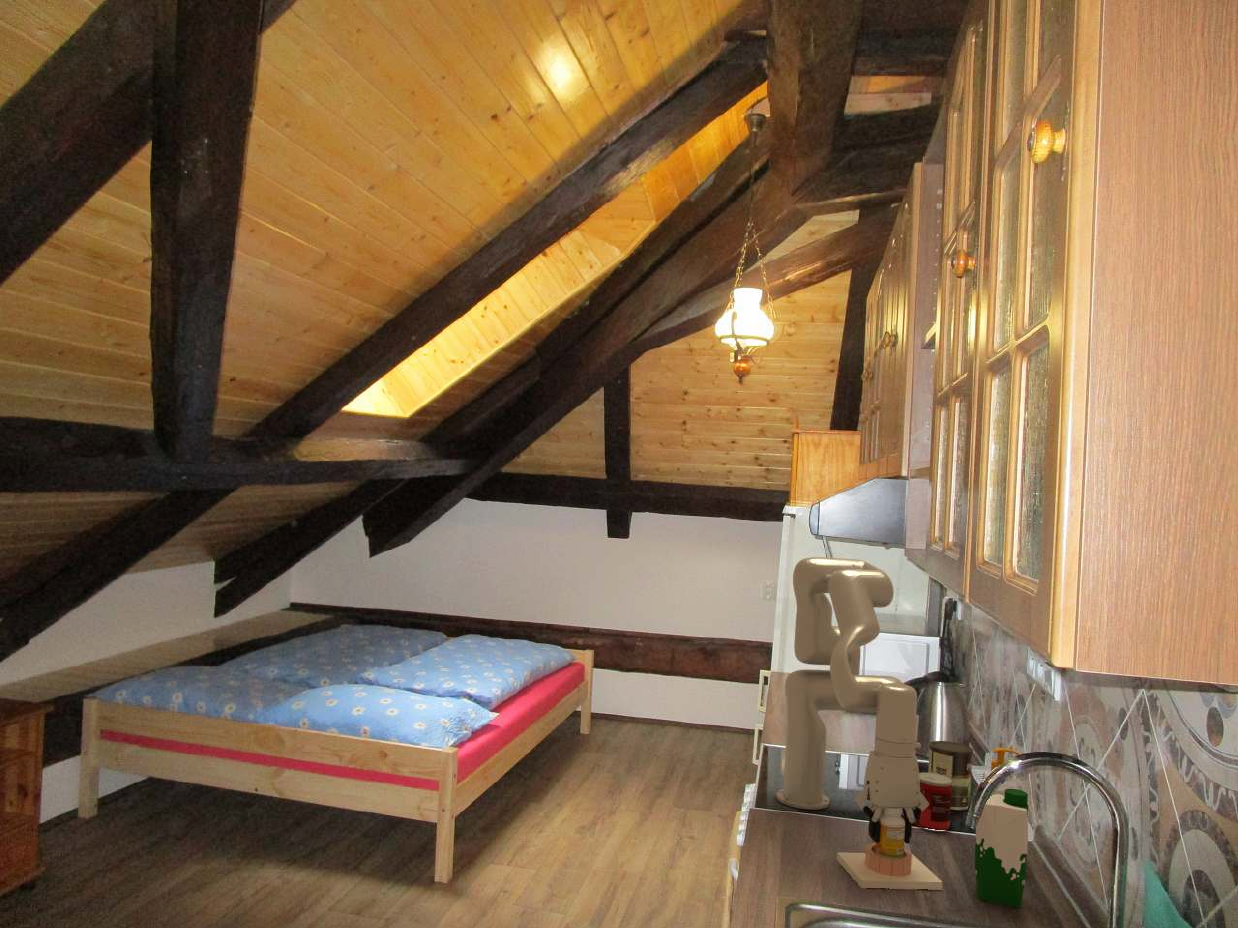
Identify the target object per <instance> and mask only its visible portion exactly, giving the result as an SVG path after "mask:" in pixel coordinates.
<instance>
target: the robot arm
mask: <svg viewBox="0 0 1238 928" xmlns="http://www.w3.org/2000/svg"><path fill="white" fill-rule="evenodd" d="M792 585H793V592H794V598H795V601H796V602H795V603H796V615H795V627H794V628H795V629H794V645H793V647H794V656H795V658H796V659H797V661H798V662H800V663H801V664H805V665H812V666H829V669H827V670H826V669H806V668H805V669H798V670H794V671H792V672H791V673H790V674H788V675H787V677H786V679H785V685H784V690H785V700H786V732H785V733H786V736H785V755H784V756H785V757H784V772H783V788H781V789H779V790H777V792H776V797H775V798H776V799H777V800H778V802H780V803H781V804H783V805H785V806H788V807H791V808H795V809H801V810H807V811H808V810H810V811H812V810H813V811H815V810H823V809H827V808H828V807H829V805H830V798H829V797H828V796H827V795H825V794H824V784H825V771H826V770H825V769H826V767H825V765H826V751H827V734H828V733H827V726H826V724H825V723H824V721H823V719H822V718H821V716H820V714H819V711H820V712H821V711H846V712H848V713H859V714H860V713H862V714H863V713H865V714H866V713H867V714H868V713H873V714H874V713H875V714H876V715H875V716H876V717H875V732H874V733H875V736H874V749H873V750H871V751H870V752H869V755H868V758H867V762H866V767H865V772H864V779H863V787H862V788H863V789H861V790H860V792H859V793H858V794H857V795H856V797H854V799H853V802H854V803H855V804H856V805H857V806H858V807H859V808H860V809H861V810H862V811H863V812H864V813H865V814H866V816H867V817H868V835H869V837H870V838H871V840H872V841H873V842H874V843H875V842H876V843H879V842H880V827H881V824H880V822H879V821H878V819H879V816H880V814H881V813H882V812H881V811H882V808H883V807H884V808H902V818H903V819H904V820H905V836H904V844H910V842H911V838H912V835H913V833H912V831H913V824H915V819H916V818H917V817H918V816H919V815H920V814H921V812H922V811H923V810H924V809H926V808H927V807H928V806H929V802H928V801H927V800H926V798H925V797H924V796H923V794H922V793H921V792H920V777H919V773H920V769H919V762H918V757H917V756H916V753H915V750H916V751H917V750H918V751H919V750H921V748H922V744H921V742H918V741H917V742H916V741H915V727H916V715H917V704H918V693H917V690H916V689H915V687H912V686H911V685H907V684H905V683H903V682H902V681H901V679H899V678H897V677H894V676H892V675H891V676H890V675H876V674H875V675H874V674H860V670H861V669H860V668H861V647H864V646H865V645H868V644H869V643H872V641H874V640H876V639H877V637H879V634H881V633H880V632H881V628H880V623H879V620H878V618H877V614H876V611H875V608H886V607H889V606H890V605H891V603H892V601H893V599H894V586H893V582H892V580H891V578H890V577H889V575H888V574H887V573H886V572H885V571H884V570H882V568H881V569H880V568H878V567H876V566H875V565H873V564H871V563H870V562H867V561H865V560H861V559H857V558H855V559H852V558H838V557H837V558H836V557H822V556H820V557H819V556H816V557H815V556H814V557H805V558H802V559H800V560H799V561H798V562H797V563H796V565H795V566H794V569H793V574H792ZM826 594H829V598H830V600H829V598H828V596H827V595H826ZM830 601H831V602H830ZM833 613H834V615H835V619H836V623H837V625H832V624H833V623H832V620H833ZM914 754H915V755H914ZM866 800H867V801H870V805H869V806H868V805H867V804H866V802H865V801H866Z"/></svg>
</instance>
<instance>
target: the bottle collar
mask: <svg viewBox="0 0 1238 928" xmlns="http://www.w3.org/2000/svg"><path fill="white" fill-rule="evenodd" d="M864 853H865V865H866V866H867V867H868V868H869V869H871V870H873V871H875V872H878V873H880V874H885V875H889V876H905V875H909V874H910V873H911V870H912V854H913V853H912V852H911V851H909V849H906V847H904V854H903V858H889V857H884V856H881V855H879V854H876V853H875V842H871V843H869V844H867V845H866V846H865V852H864Z"/></svg>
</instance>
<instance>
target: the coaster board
mask: <svg viewBox="0 0 1238 928" xmlns="http://www.w3.org/2000/svg"><path fill="white" fill-rule="evenodd" d="M865 853H866V852H836V861H837V863H838V864H839V865H840V866H841V867H842V866H843V867H844V868H845V869H846V870H847V871H846V870H845V869H844V868H843V867H842V868H843V869H844V870H845V871H846V872H847V874H848V873H849V874H850V875H851V876H852V877H851V876H850V875H849V874H848V875H849V876H850V877H851V878H852V880H853V881H854V880H855V881H856V882H857V883H858V884H857V883H856V882H855V881H854V882H855V883H856V884H857V885H858V886H859V885H860V886H861V887H878V888H879V887H880V888H885V889H884V890H917V889H928V891H929V890H930V891H934V890H935V891H942V890H943V881H942V880H941V879H940V878H938V876H937V875H936V874H935V873H934V872H932V871H931V870H930V869H929V868H928V867H927V866H926V865H925V864H924V863H923V862H921V861H920V860H919V858H917V857H916V856H915V855H914V854H913V853H912V870H911V873H910V874H909V875H905V876H889V875H885V874H880V873H878V872H875V871H873V870H871V869H869V868H868V867H867V866H866V865H865ZM860 886H859V887H860ZM886 888H887V889H886ZM888 888H889V889H888ZM913 888H914V889H913Z"/></svg>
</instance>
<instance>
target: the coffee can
mask: <svg viewBox="0 0 1238 928" xmlns="http://www.w3.org/2000/svg"><path fill="white" fill-rule="evenodd" d="M928 747H929V750H928V751H929V752H928V753H929V754H928V771H927V773H934V774H939V775H943V776H945V777H948V778H949V779H951V780H952V795H951V810H952V811H966V810H969V809H968V806H969V803H970V804H971V791H972V790H971V788H972V787H971V786H972V785H971V784H972V767H973V764H972V763H973V753H974V749H973V748H972V747H971V746H969V745H966V744H963V743H961V742H960V743H958V742H953V741H949V740H948V741H947V740H934V741H930V742H929V744H928Z"/></svg>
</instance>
